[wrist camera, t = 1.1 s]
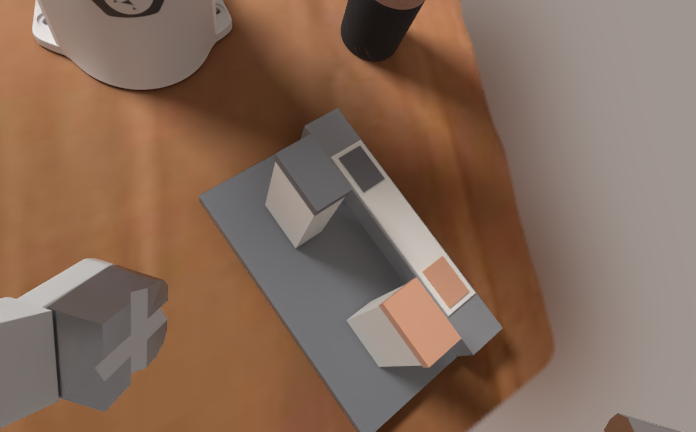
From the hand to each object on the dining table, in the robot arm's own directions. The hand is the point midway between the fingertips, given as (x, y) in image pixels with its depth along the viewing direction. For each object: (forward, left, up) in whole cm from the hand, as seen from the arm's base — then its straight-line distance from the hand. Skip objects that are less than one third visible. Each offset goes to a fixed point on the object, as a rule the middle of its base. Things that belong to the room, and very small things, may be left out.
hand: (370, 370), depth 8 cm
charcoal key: (-12, +6, -33) cm, 35 cm away
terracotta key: (0, +11, -33) cm, 34 cm away
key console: (-7, +11, -34) cm, 37 cm away
